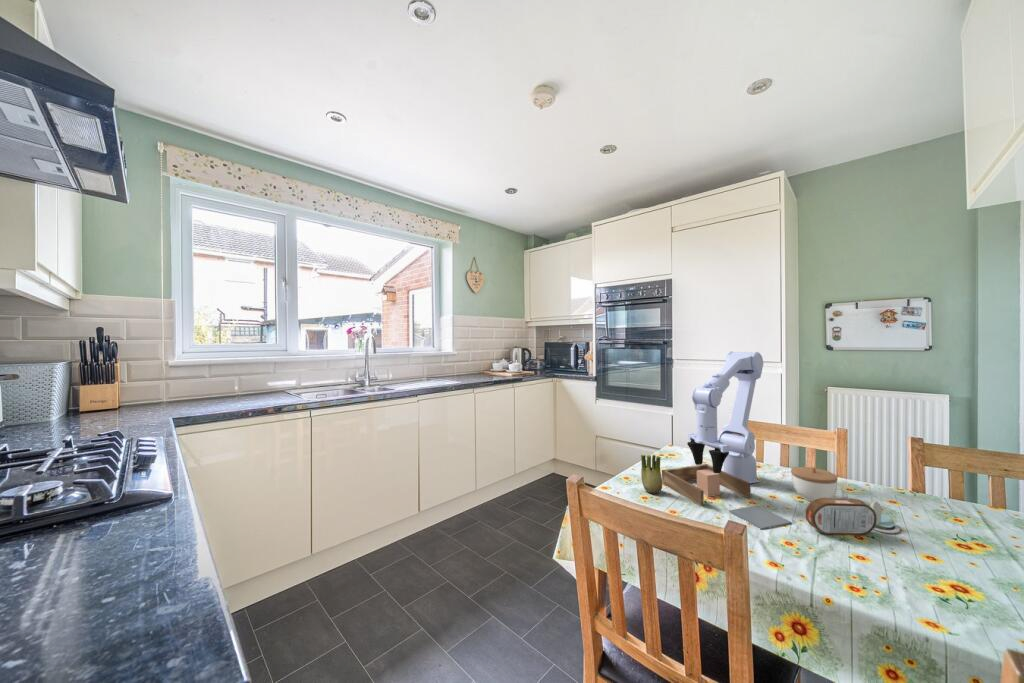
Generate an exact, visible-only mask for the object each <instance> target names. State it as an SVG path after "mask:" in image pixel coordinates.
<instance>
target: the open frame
mask: <svg viewBox="0 0 1024 683" xmlns="http://www.w3.org/2000/svg"><path fill="white" fill-rule="evenodd" d="M705 469H710V470H712V471H713V465H710V464H707V463H705V464H703V463H702V464H701V465H696V464H695V465H690V466H681V467H676V468H668V469H663V470H661V477H662V483H663V484H662V485H664V484H665V485H664V486H666V487H667V486H668V488H669V487H670V488H669V489H670V490H672V491H674V492H676V493H677V494H679V495H681V496H683V497H684V498H686V499H688V500H689V501H691V502H693V503H694V504H696V505H698V506H699V507H704V503H705V500H704V499H705V498H704V496H705V495H704V491H703V490H701V489H700V488H698V487H697V485H694V484H693V483H690V482H691V481H697V471H698V470H705ZM718 474H719V477H720V486H722V487H723V488H726V489H728V490H730V491H732V492H734V493H737V494H738V495H740V496H742V497H744V498H745V499H751V497H752V496H751V490H752V489H751V483H749V482H747V481H744V480H742V479H740V478H737V477H735V476H733V475H731V474H728V473H726V472H724V470H721V473H718Z"/></svg>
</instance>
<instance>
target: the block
mask: <svg viewBox="0 0 1024 683" xmlns="http://www.w3.org/2000/svg"><path fill="white" fill-rule="evenodd" d="M720 486H721V485H720V477H719V474H718V473H714V472H713V471H712V470H710V469H705V470H698V471H697V480H696V487H698V488H700V489H701V490H703V491H704V496H706V497H713V496H719V495H720V494H721V488H720ZM720 496H721V495H720Z"/></svg>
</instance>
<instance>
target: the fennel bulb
mask: <svg viewBox="0 0 1024 683" xmlns="http://www.w3.org/2000/svg"><path fill="white" fill-rule="evenodd" d="M640 460H641V472H640V473H641V474H640V475H641V476H640V477H641V478H640V479H641V484H642V486H643V489H644V490H645V491H646V492H647V493H649V494H653V495H655V494H658V493H660V492H661V491H662V489H663V484H662V471H661V456H659V455H656V454H653V453H652V455H651V454H644V453H642V454H640Z"/></svg>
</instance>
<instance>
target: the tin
mask: <svg viewBox="0 0 1024 683" xmlns="http://www.w3.org/2000/svg"><path fill="white" fill-rule="evenodd" d="M804 512H805V518H806V522H808V524H809V525H810V526H811V527H812V528H814V529H815V530H817V531H818V532H820V533H821V534H824V535H834V536H835V535H839V536H840V535H841V536H842V535H843V536H865V535H868V534H869V533H871V532H872V531H873V530H875V529H874V528H875V525H876V521H877V517H876V513H875V511H874V510H873V509H872V508H871V507H870V505H868V504H867V503H865V502H864V501H863V500H861V499H857V498H843V497H842V498H841V497H840V498H839V497H838V498H837V497H835V498H834V497H833V498H818V499H815V500H813V501H812V502H811V501H810V503H808V505H807V506H806V508H805V511H804Z"/></svg>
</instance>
